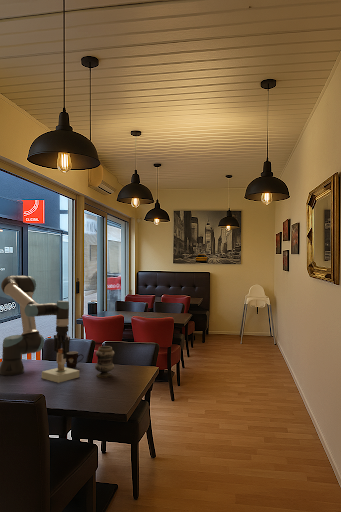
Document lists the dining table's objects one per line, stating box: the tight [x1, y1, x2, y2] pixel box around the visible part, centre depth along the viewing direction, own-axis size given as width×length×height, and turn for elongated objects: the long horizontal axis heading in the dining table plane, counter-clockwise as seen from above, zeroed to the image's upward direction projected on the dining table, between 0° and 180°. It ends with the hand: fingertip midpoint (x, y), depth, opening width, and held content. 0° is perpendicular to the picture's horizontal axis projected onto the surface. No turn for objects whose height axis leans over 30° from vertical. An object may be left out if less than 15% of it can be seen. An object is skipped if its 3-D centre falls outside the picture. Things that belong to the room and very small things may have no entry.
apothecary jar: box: [94, 345, 115, 379], centre depth 238 cm, size 12×12×18 cm
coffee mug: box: [65, 351, 85, 369], centre depth 257 cm, size 12×9×10 cm
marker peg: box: [57, 348, 65, 371], centre depth 232 cm, size 4×4×13 cm
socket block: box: [41, 366, 80, 384], centre depth 231 cm, size 16×16×4 cm
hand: (61, 363), depth 232 cm, fingers closed on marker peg, 4 cm apart
